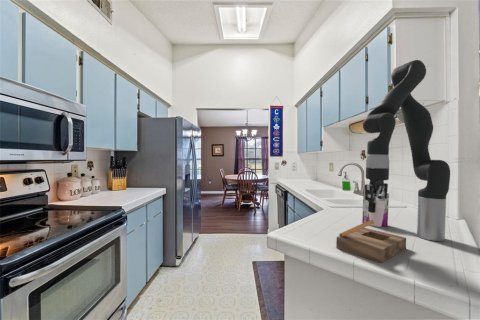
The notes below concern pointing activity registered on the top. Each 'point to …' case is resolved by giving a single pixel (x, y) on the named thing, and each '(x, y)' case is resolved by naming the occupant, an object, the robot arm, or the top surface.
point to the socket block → (372, 244)
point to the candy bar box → (366, 212)
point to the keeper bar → (356, 228)
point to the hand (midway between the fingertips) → (375, 211)
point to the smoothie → (378, 212)
